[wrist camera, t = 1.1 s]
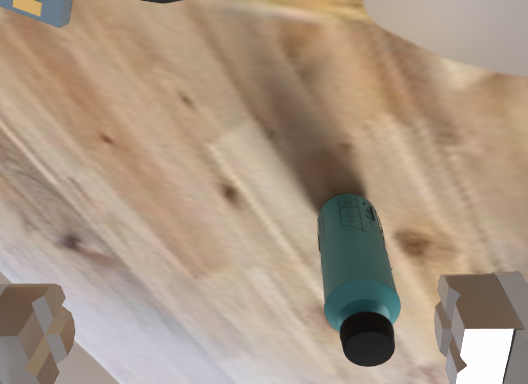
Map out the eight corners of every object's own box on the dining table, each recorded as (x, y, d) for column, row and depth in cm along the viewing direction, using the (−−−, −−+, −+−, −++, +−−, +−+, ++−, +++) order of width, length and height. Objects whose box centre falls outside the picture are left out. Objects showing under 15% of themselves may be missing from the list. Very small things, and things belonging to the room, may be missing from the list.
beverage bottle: (304, 216, 56) (306, 360, 38) (340, 172, 53) (360, 306, 35) (352, 244, 57) (375, 393, 40) (389, 202, 54) (432, 344, 37)
